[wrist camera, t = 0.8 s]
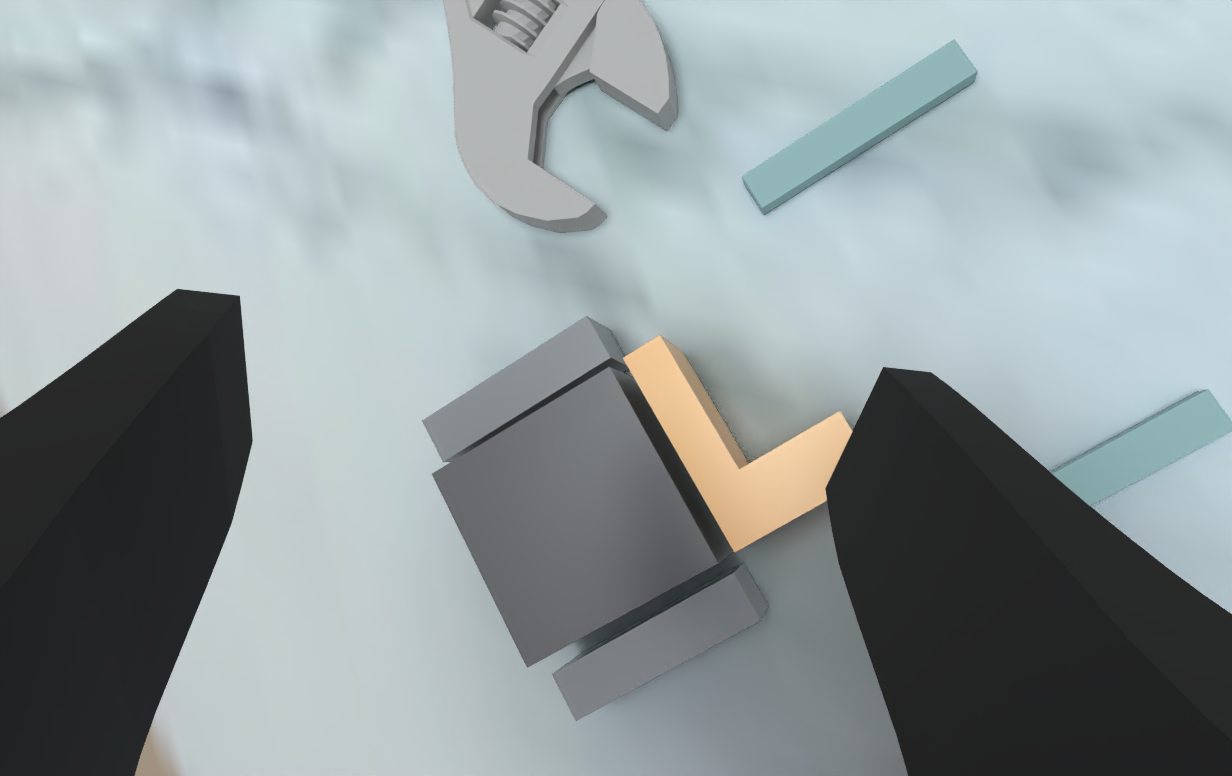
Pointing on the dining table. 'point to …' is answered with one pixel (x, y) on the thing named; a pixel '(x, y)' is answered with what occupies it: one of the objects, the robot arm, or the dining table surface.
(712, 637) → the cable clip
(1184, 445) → the rails
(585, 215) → the adjustable wrench
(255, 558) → the dining table surface
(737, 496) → the orange l-shaped block
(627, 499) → the plug block
